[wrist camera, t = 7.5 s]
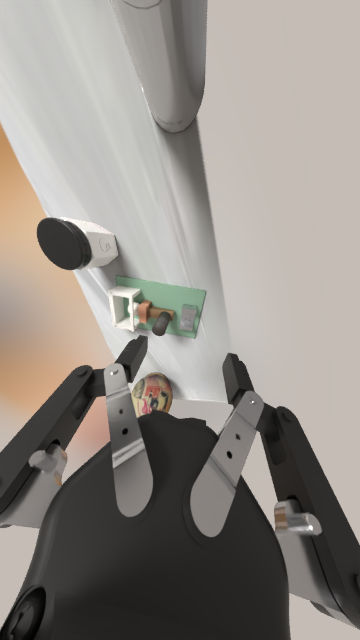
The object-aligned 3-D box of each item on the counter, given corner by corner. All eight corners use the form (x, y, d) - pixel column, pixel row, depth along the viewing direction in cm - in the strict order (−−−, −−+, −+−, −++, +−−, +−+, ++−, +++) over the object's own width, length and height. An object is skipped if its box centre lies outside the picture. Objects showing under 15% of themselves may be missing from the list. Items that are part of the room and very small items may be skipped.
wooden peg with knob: (144, 300, 39) (129, 315, 30) (174, 305, 38) (167, 322, 30) (144, 315, 41) (130, 333, 33) (173, 320, 41) (166, 340, 32)
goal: (118, 285, 38) (106, 291, 33) (140, 289, 38) (131, 295, 33) (121, 318, 44) (112, 327, 39) (141, 322, 43) (133, 331, 38)
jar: (121, 264, 35) (89, 272, 25) (93, 264, 36) (52, 272, 26) (112, 223, 31) (69, 212, 21) (81, 224, 32) (24, 215, 22)
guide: (183, 303, 38) (181, 307, 36) (196, 305, 38) (196, 310, 35) (179, 323, 42) (178, 328, 39) (192, 325, 41) (192, 331, 39)
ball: (140, 306, 36) (143, 300, 40) (125, 304, 36) (129, 299, 39) (140, 318, 38) (143, 312, 42) (126, 317, 38) (130, 311, 41)
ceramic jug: (181, 374, 54) (164, 493, 28) (168, 393, 62) (145, 501, 36) (141, 359, 53) (86, 470, 27) (133, 380, 60) (84, 483, 35)
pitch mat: (116, 275, 37) (115, 276, 37) (205, 290, 36) (205, 291, 36) (121, 323, 45) (121, 324, 45) (194, 337, 44) (194, 338, 44)
